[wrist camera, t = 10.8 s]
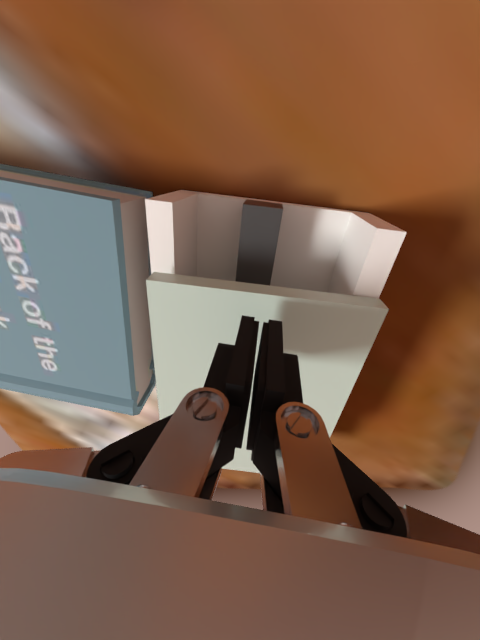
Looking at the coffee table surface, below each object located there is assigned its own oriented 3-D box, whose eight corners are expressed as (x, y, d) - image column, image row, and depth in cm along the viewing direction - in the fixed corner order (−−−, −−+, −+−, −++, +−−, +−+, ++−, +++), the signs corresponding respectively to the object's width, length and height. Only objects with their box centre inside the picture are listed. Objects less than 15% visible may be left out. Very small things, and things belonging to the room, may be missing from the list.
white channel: (181, 189, 15) (144, 198, 11) (369, 212, 15) (406, 232, 11) (185, 412, 26) (167, 461, 21) (295, 430, 25) (299, 484, 21)
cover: (154, 271, 12) (145, 279, 11) (379, 298, 12) (388, 309, 11) (168, 447, 19) (163, 460, 19) (308, 465, 19) (310, 479, 18)
